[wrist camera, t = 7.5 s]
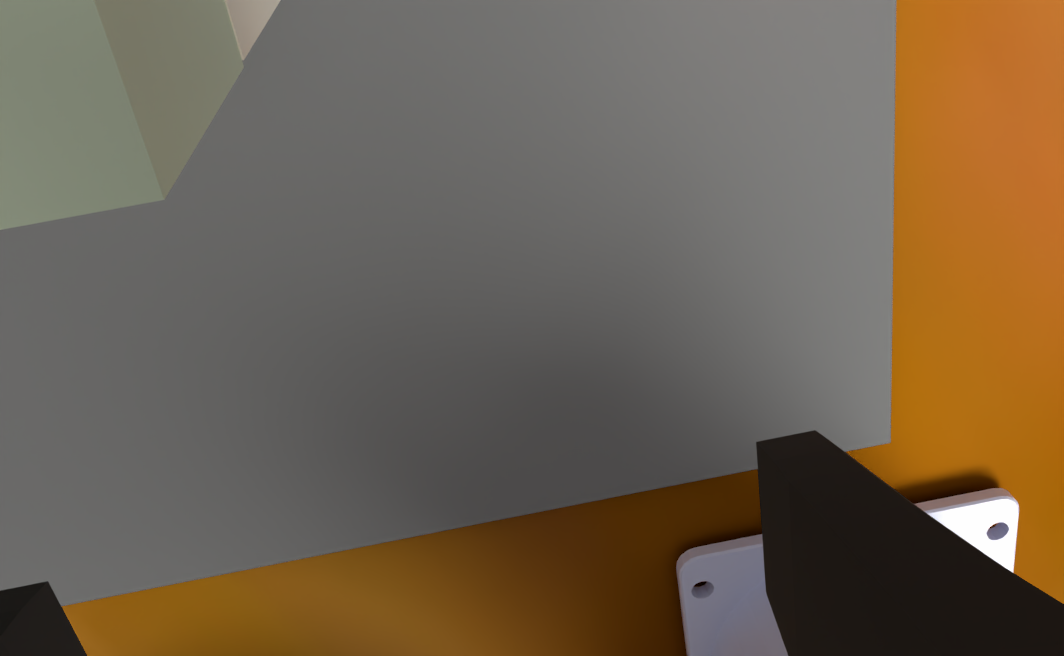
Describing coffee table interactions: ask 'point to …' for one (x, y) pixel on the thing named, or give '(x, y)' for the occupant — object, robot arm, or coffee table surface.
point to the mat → (456, 284)
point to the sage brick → (105, 100)
